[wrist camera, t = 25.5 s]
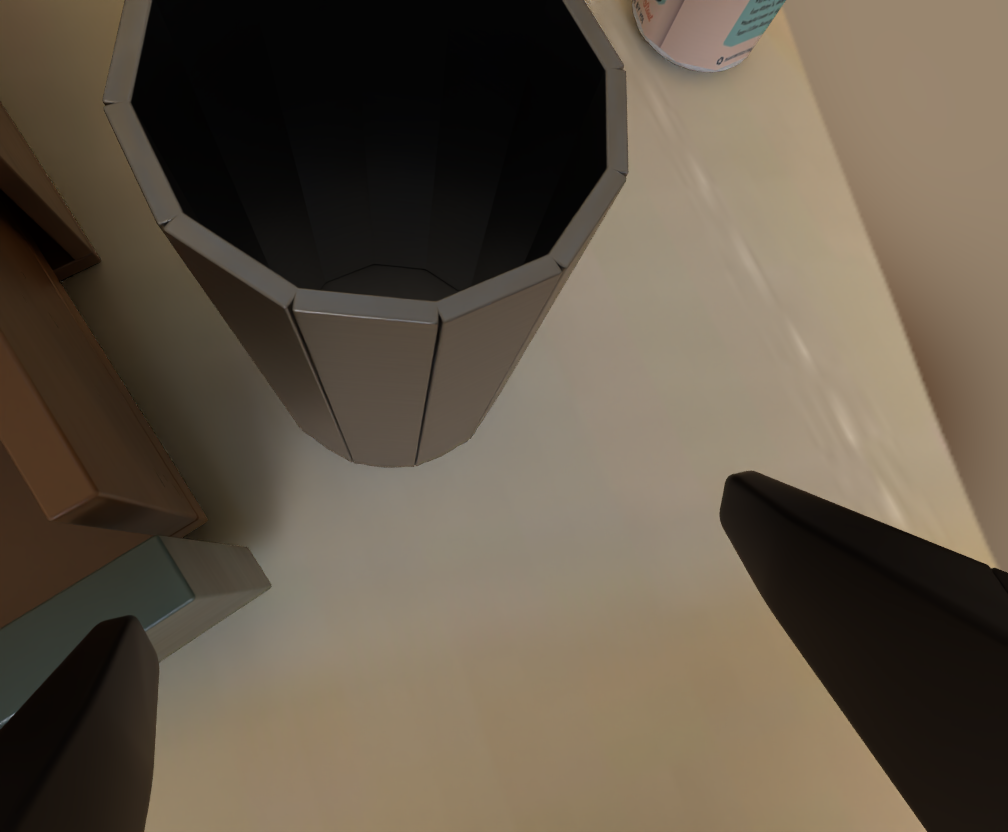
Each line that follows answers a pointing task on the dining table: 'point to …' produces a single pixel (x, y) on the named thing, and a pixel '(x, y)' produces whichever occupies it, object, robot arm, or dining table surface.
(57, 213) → the cabinet
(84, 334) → the drawer
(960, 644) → the robot arm
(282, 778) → the dining table surface
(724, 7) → the beer can
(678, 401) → the dining table surface
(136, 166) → the tapered cup
